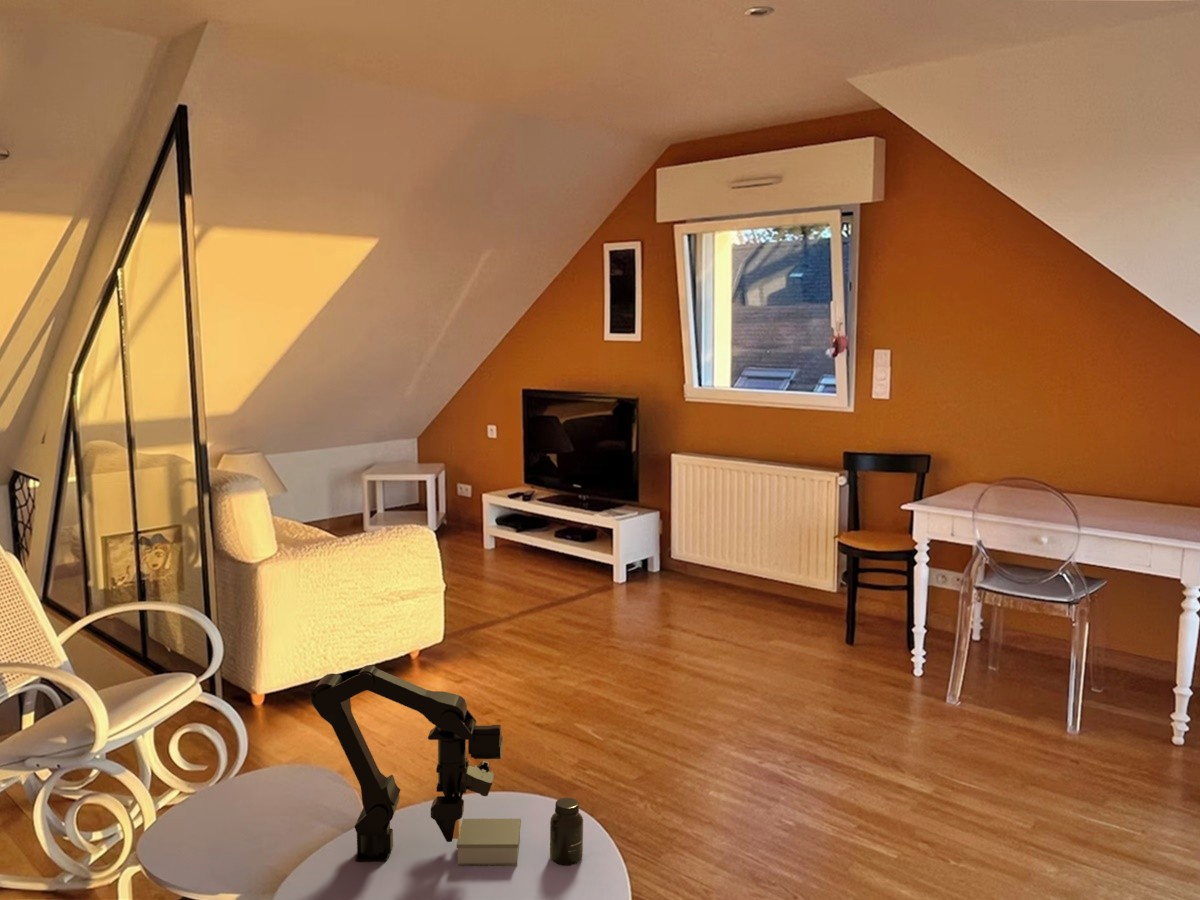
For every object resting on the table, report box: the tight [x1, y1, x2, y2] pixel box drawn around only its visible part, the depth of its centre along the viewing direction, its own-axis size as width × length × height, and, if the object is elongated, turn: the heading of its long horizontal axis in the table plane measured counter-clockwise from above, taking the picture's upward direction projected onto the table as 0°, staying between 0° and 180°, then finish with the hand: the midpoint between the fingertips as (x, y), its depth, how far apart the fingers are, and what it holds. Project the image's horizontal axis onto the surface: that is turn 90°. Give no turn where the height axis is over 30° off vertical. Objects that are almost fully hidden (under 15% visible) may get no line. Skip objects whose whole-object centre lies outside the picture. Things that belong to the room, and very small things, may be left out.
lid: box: [452, 818, 522, 849], centre depth 196 cm, size 15×10×5 cm
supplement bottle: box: [549, 797, 584, 867], centre depth 195 cm, size 7×7×12 cm
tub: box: [457, 834, 521, 867], centre depth 197 cm, size 12×10×4 cm
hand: (452, 829), depth 196 cm, fingers open, 9 cm apart
